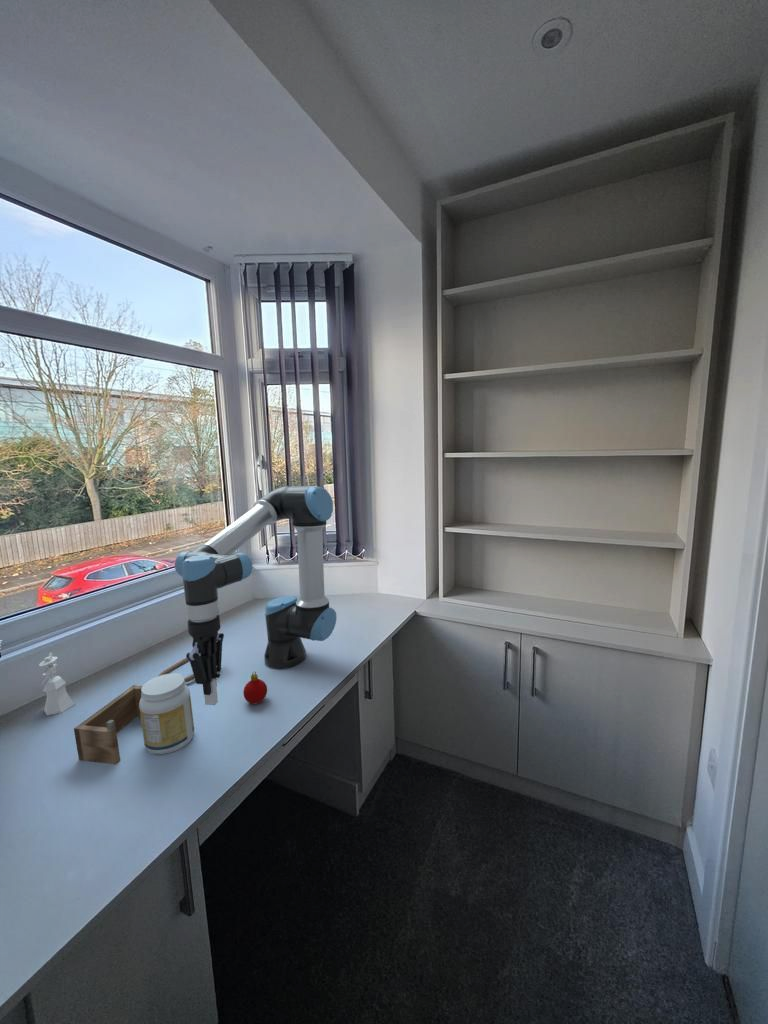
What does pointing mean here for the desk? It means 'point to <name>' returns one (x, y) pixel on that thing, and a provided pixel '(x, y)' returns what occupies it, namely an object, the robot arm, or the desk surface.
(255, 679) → the christmas ornament
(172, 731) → the supplement tub
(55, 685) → the figurine
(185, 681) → the brown curved horn
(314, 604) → the robot arm
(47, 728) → the desk surface
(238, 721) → the desk surface
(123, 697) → the walnut holder
